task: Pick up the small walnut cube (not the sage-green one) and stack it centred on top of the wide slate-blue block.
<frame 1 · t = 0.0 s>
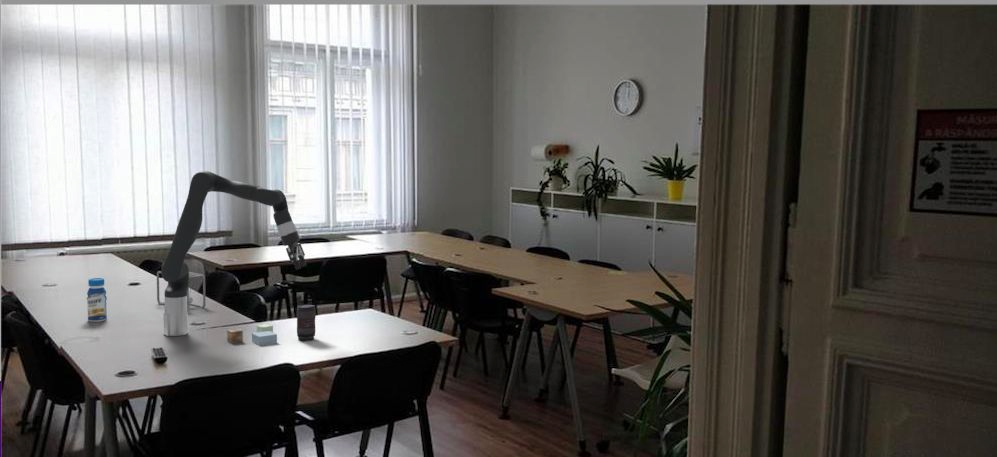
hand: (301, 267, 348), 31 cm above the table, tool tilted 20°, fingers open, 8 cm apart
sage cube: (264, 336, 353), on the table
beverage bottle: (97, 320, 379), on the table
newton's cradle: (181, 306, 417), on the table
walnut cube: (235, 341, 343), on the table
slate base block: (264, 342, 342), on the table
camera lens: (306, 339, 349), on the table
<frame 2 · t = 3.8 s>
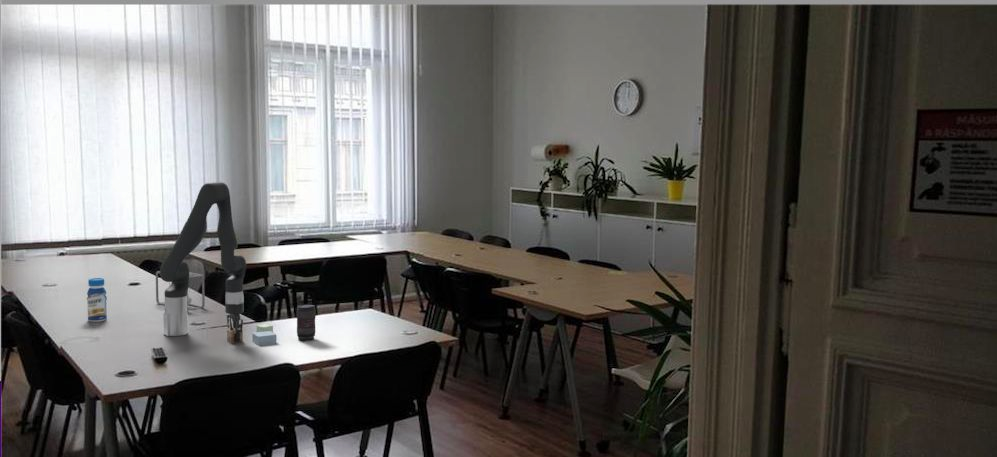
hand: (235, 340, 343), 0 cm above the table, tool pointing down, fingers closed on walnut cube, 5 cm apart
walnut cube: (234, 341, 343), on the table, touching gripper
everything else where it was.
when the fingers open (5 cm above the table, at t = 8.2 s): walnut cube drops 1 cm, resting on slate base block.
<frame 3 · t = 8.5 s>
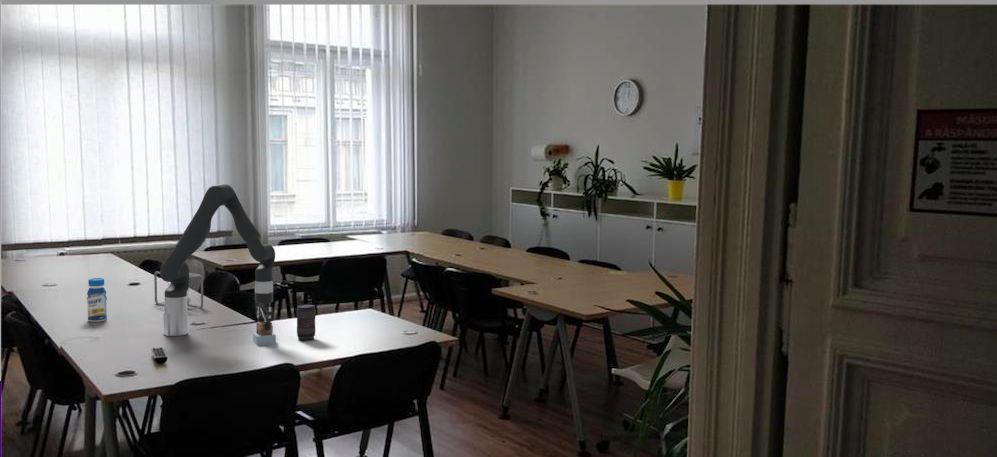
hand: (264, 328, 342), 6 cm above the table, tool pointing down, fingers open, 7 cm apart
walnut cube: (264, 333, 342), point 4 cm above the table, touching slate base block
slate base block: (264, 342, 342), on the table, touching walnut cube
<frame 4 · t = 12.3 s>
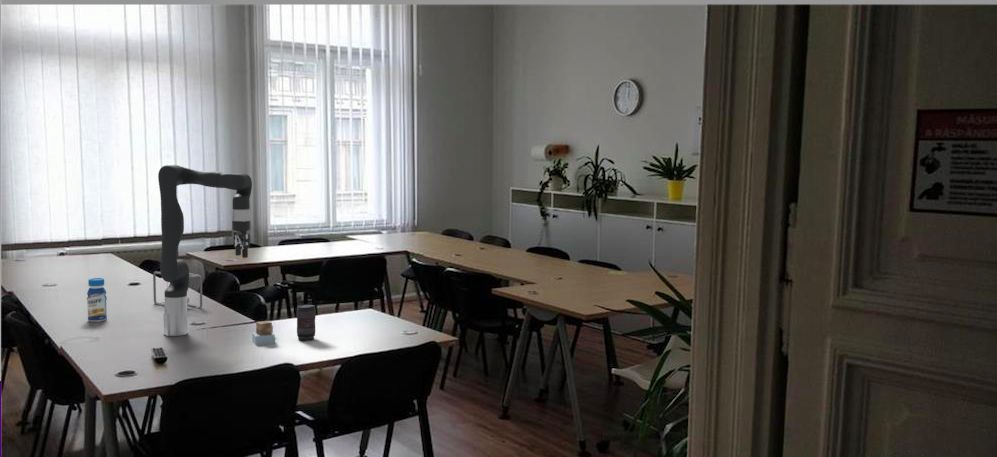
hand: (241, 256, 346), 36 cm above the table, tool pointing down, fingers open, 8 cm apart
walnut cube: (264, 333, 342), point 4 cm above the table
slate base block: (263, 342, 342), on the table
at the end: walnut cube 0.4 cm off-centre on the slate base block, point 4.0 cm above the slate base block's base; walnut cube tilted 0°; sage cube moved 0.1 cm from its start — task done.
